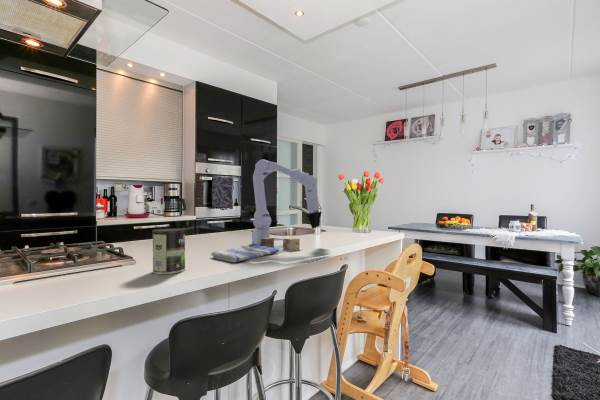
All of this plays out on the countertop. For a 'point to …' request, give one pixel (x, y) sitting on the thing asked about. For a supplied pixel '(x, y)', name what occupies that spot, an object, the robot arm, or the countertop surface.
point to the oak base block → (291, 243)
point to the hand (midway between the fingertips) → (315, 227)
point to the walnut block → (267, 242)
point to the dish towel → (243, 253)
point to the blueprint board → (282, 249)
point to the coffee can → (168, 250)
